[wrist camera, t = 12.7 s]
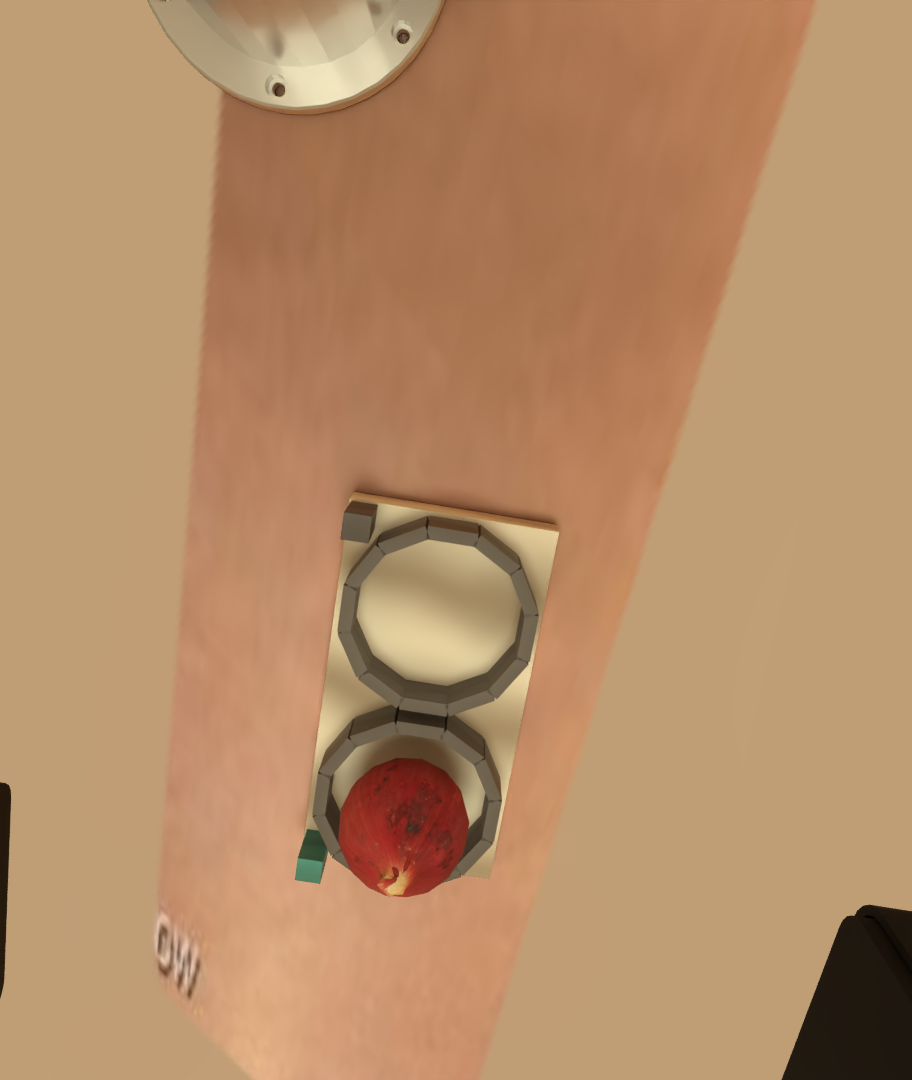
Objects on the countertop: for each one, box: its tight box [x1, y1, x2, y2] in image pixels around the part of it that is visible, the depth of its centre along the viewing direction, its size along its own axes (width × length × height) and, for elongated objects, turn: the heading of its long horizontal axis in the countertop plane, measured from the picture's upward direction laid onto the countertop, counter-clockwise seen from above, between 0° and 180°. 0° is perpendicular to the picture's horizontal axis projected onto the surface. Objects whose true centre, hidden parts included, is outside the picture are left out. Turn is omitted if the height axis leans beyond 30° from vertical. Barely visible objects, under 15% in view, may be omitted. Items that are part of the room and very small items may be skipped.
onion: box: [338, 758, 469, 897], centre depth 38 cm, size 6×6×8 cm
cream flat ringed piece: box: [295, 492, 559, 884], centre depth 40 cm, size 18×10×4 cm, turn 171°
